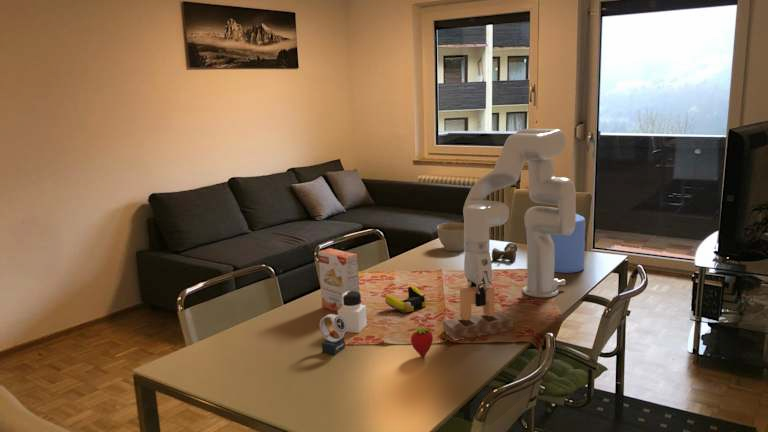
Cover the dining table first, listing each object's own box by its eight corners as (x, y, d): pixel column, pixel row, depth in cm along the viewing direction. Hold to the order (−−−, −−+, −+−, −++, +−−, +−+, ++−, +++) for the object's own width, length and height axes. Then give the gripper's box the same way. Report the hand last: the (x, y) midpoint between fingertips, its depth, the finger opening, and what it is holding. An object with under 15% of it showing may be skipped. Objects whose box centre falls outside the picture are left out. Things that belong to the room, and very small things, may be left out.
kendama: (522, 255, 276) (511, 266, 258) (501, 253, 280) (488, 264, 263) (522, 241, 275) (510, 252, 257) (501, 240, 279) (488, 251, 262)
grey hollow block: (499, 321, 200) (499, 310, 199) (512, 329, 192) (512, 319, 192) (443, 331, 193) (443, 321, 193) (454, 341, 186) (454, 330, 185)
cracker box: (321, 308, 219) (317, 251, 215) (333, 303, 223) (330, 247, 219) (348, 316, 209) (345, 257, 205) (361, 311, 214) (358, 253, 209)
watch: (340, 356, 179) (338, 320, 177) (317, 351, 183) (315, 316, 180) (350, 349, 184) (348, 314, 181) (328, 344, 188) (325, 310, 185)
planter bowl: (436, 253, 282) (435, 230, 280) (438, 244, 298) (438, 222, 295) (471, 253, 279) (471, 230, 277) (472, 244, 295) (472, 222, 293)
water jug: (588, 265, 255) (590, 198, 249) (578, 275, 242) (579, 205, 236) (551, 260, 263) (552, 196, 257) (539, 270, 250) (539, 202, 244)
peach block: (489, 311, 195) (488, 284, 193) (494, 315, 192) (494, 287, 190) (460, 316, 192) (459, 288, 190) (465, 320, 188) (465, 292, 187)
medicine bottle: (367, 325, 201) (365, 290, 199) (359, 333, 195) (357, 297, 192) (346, 323, 204) (344, 288, 201) (338, 331, 197) (336, 295, 195)
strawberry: (407, 360, 174) (406, 327, 172) (418, 349, 181) (417, 317, 179) (426, 363, 172) (425, 329, 170) (437, 353, 178) (436, 320, 176)
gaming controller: (383, 310, 215) (404, 316, 208) (382, 295, 213) (403, 301, 206) (412, 298, 225) (433, 304, 218) (411, 284, 224) (432, 289, 217)
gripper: (501, 250, 181) (501, 310, 184) (475, 238, 196) (475, 293, 200) (478, 253, 178) (479, 314, 182) (453, 241, 194) (454, 297, 197)
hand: (477, 302), depth 191 cm, fingers closed on peach block, 3 cm apart
